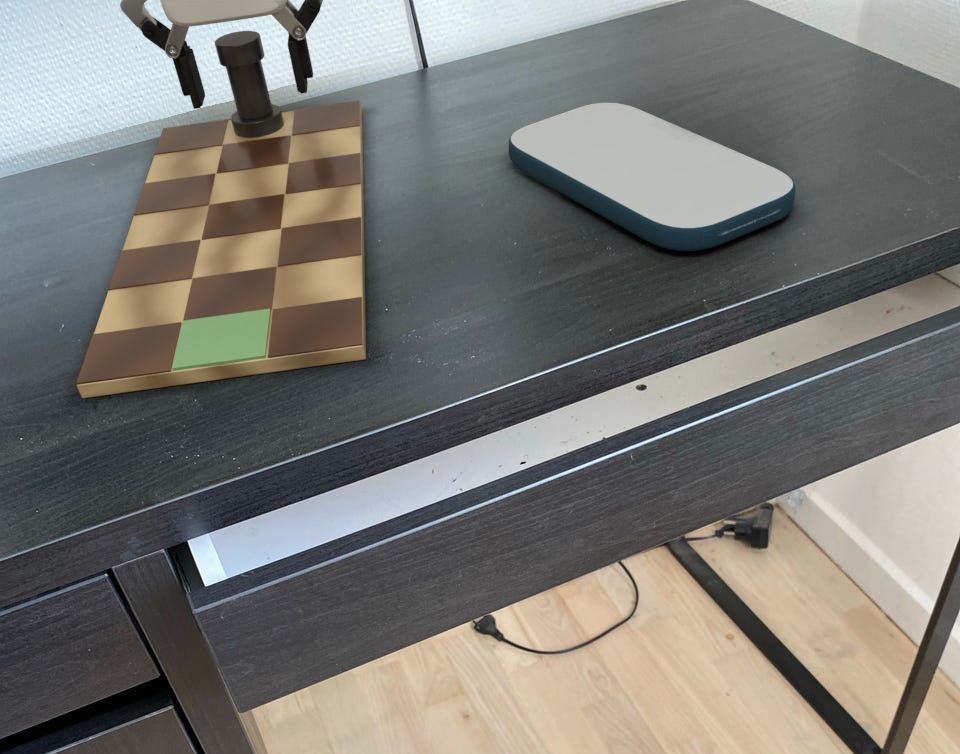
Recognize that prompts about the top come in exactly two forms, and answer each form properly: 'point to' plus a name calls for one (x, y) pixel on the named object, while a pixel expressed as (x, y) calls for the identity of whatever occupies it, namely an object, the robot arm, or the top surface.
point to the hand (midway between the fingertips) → (251, 94)
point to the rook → (248, 84)
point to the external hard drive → (652, 175)
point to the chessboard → (240, 251)
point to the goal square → (222, 339)
